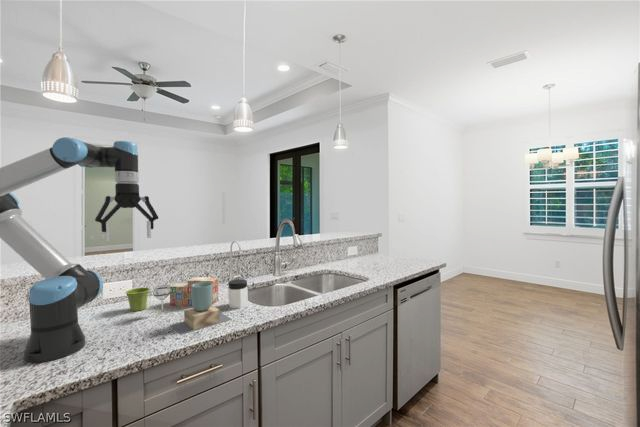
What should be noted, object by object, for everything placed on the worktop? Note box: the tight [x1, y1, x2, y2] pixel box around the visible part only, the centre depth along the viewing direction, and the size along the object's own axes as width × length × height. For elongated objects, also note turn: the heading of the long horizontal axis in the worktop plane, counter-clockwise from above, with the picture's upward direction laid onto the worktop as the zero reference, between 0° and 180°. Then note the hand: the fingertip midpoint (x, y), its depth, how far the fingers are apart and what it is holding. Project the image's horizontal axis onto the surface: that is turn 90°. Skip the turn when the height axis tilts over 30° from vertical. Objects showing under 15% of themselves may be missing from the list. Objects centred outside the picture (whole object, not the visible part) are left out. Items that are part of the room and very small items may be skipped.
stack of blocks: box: [169, 276, 219, 307], centre depth 143 cm, size 21×6×12 cm, turn 85°
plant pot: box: [125, 287, 151, 312], centre depth 137 cm, size 9×9×9 cm
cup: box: [191, 282, 213, 311], centre depth 119 cm, size 8×8×10 cm
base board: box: [170, 311, 233, 335], centre depth 119 cm, size 20×12×1 cm, turn 133°
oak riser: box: [183, 304, 220, 330], centre depth 119 cm, size 10×10×5 cm
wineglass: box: [152, 284, 171, 317], centre depth 130 cm, size 7×7×12 cm
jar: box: [227, 278, 249, 309], centre depth 138 cm, size 9×8×12 cm
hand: (129, 239), depth 114 cm, fingers open, 13 cm apart
